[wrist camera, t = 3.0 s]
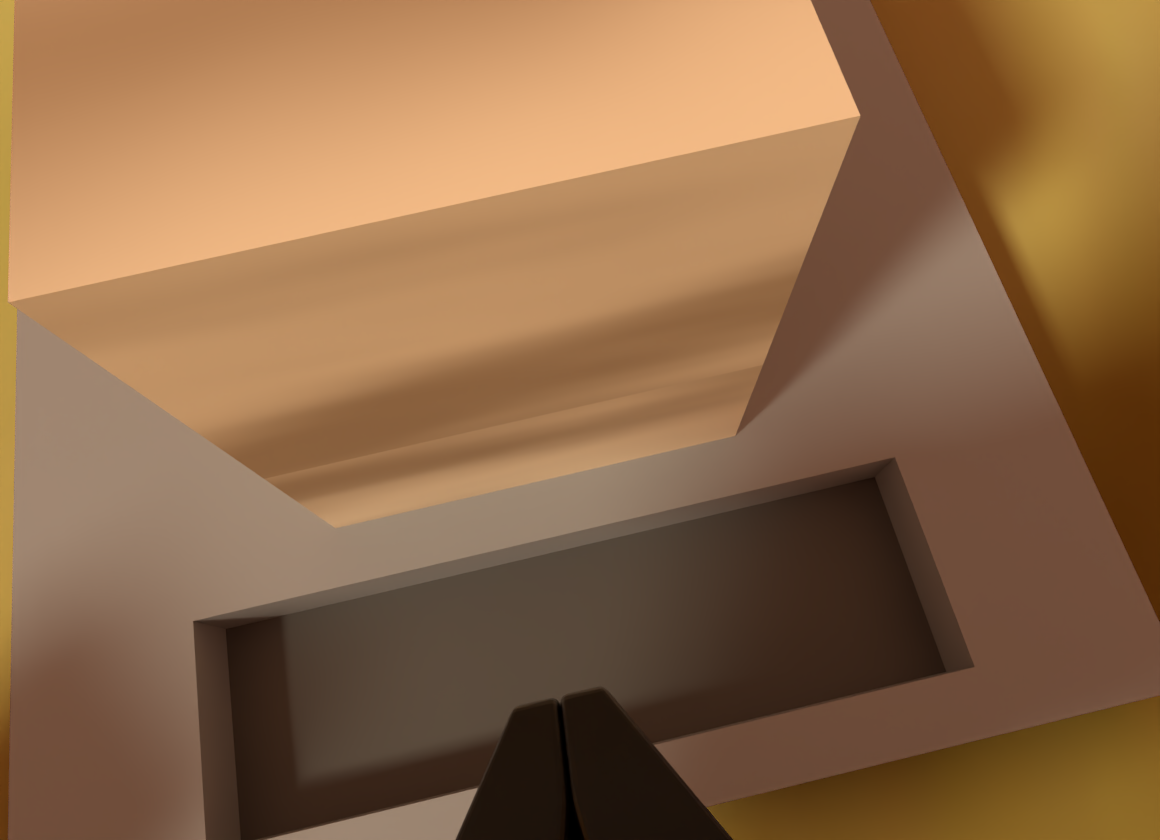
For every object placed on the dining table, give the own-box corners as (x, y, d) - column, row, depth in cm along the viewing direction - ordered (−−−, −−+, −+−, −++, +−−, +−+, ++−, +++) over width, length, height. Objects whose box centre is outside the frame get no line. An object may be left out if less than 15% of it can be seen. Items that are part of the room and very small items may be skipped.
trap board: (1133, 691, 14) (1189, 687, 13) (70, 953, 13) (5, 980, 12) (799, -65, 20) (812, -124, 19) (65, 90, 20) (22, 41, 18)
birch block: (735, 436, 14) (859, 115, 7) (335, 528, 14) (8, 302, 7) (601, 7, 18) (587, -517, 10) (279, 75, 18) (24, -410, 10)
